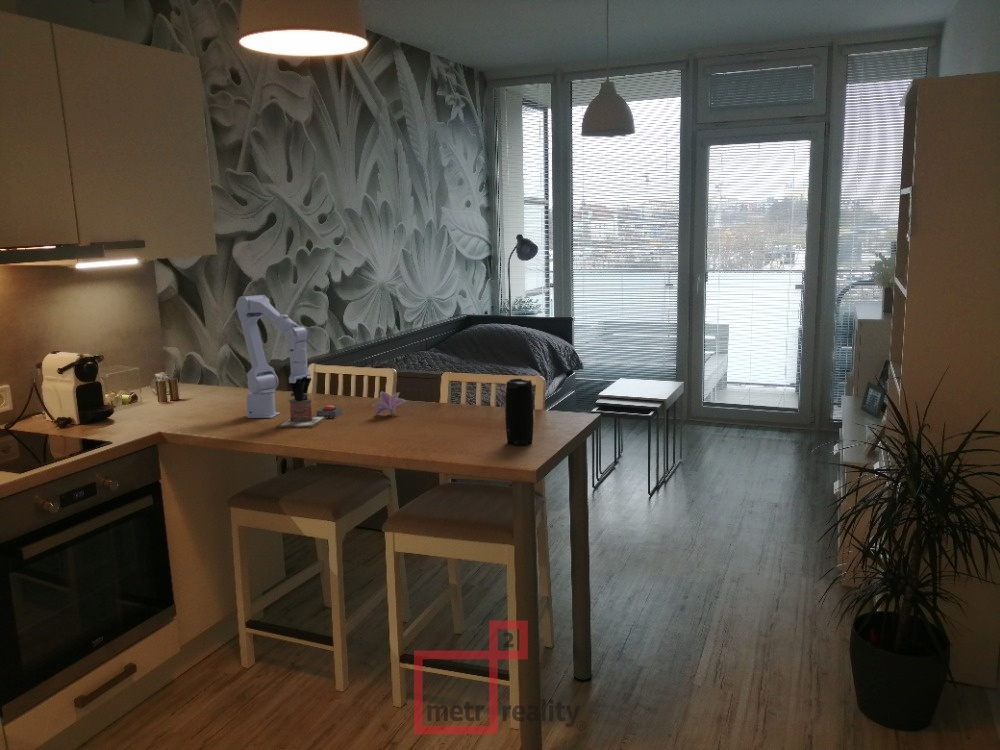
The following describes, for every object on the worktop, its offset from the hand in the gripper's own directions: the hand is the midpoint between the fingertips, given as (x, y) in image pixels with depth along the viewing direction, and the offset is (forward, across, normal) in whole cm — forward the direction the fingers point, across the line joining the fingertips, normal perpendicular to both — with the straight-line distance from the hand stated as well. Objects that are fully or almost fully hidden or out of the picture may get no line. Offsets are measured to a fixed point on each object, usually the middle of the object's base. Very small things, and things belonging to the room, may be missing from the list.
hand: (301, 399), depth 275 cm
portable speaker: (+9, -24, -79) cm, 83 cm away
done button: (+6, +11, -6) cm, 14 cm away
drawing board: (+8, 0, 0) cm, 8 cm away
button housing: (+8, +11, -6) cm, 15 cm away
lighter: (+8, 0, 0) cm, 8 cm away
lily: (+9, +11, -28) cm, 32 cm away
